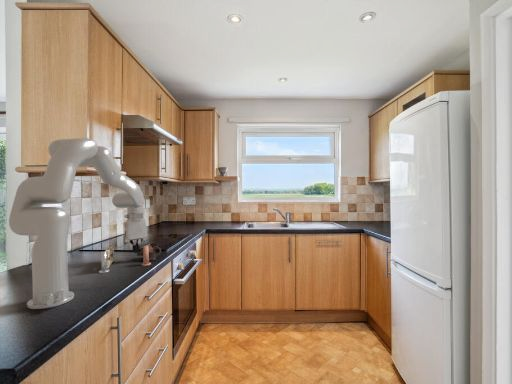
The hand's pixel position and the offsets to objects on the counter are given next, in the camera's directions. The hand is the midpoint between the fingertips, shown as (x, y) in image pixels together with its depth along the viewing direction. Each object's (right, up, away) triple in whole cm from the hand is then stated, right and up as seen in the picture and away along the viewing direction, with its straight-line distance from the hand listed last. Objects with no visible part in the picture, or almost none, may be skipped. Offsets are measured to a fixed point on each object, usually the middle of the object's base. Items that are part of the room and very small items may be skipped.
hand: (136, 252), depth 140 cm
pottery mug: (+5, -5, +4) cm, 8 cm away
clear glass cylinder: (-7, -5, -17) cm, 19 cm away
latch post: (+8, -5, -6) cm, 11 cm away
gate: (-11, -5, -7) cm, 13 cm away
